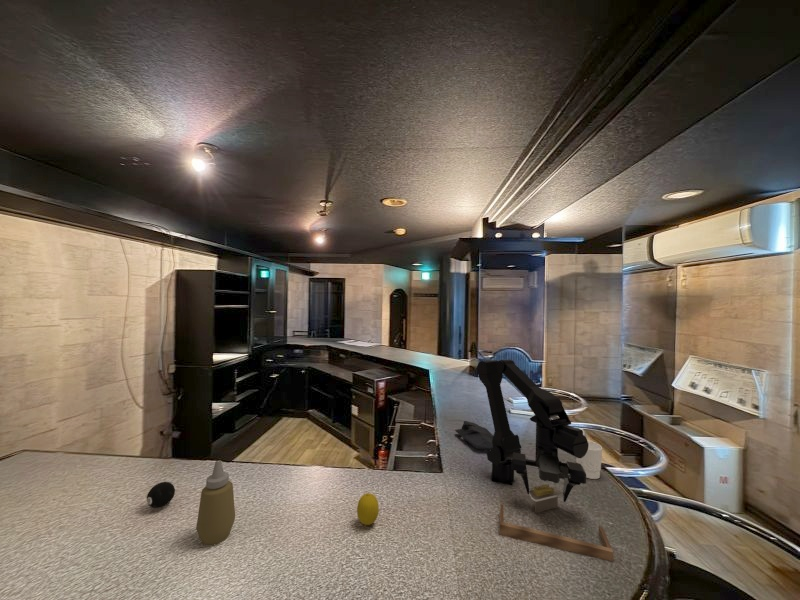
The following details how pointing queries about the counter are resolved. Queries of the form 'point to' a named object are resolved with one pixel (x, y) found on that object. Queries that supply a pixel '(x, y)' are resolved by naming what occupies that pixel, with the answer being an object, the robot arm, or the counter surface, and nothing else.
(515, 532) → the frame
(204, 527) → the squeeze bottle
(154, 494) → the black ovoid
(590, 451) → the white cup
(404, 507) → the counter surface
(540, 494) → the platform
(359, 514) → the lemon
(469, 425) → the dark slate chunk
